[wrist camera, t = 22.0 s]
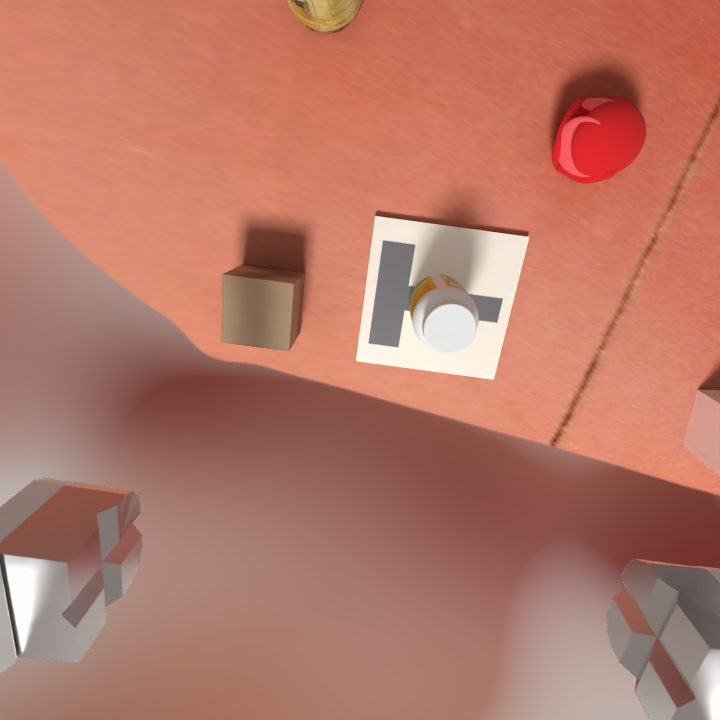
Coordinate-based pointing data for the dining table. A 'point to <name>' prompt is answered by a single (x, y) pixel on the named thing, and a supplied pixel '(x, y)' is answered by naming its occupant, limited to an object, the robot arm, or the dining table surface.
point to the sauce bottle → (325, 13)
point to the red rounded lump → (598, 138)
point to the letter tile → (437, 257)
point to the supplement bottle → (443, 314)
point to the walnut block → (261, 307)
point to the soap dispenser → (705, 429)
